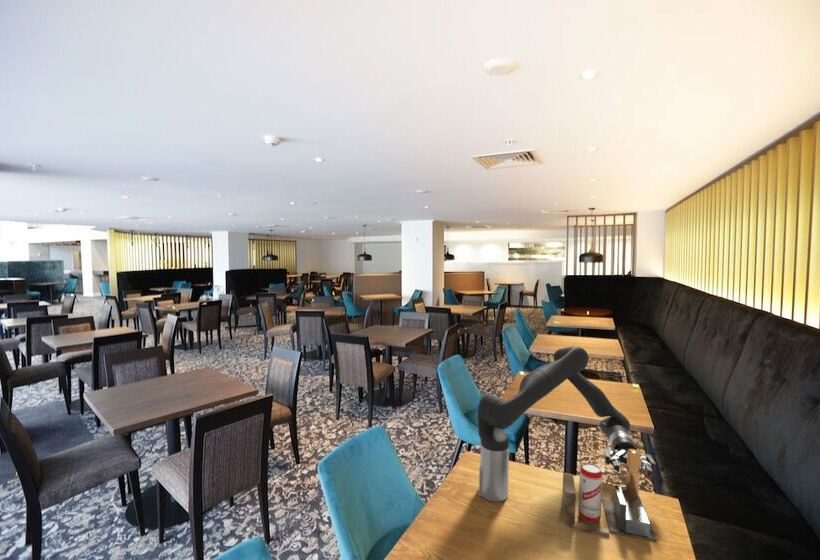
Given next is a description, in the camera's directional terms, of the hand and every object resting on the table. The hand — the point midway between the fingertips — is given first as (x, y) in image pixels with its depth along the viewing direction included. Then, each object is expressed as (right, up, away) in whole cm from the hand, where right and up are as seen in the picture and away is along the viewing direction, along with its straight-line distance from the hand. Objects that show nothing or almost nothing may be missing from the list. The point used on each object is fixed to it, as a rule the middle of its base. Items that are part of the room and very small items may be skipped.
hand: (633, 471), depth 124 cm
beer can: (-15, -13, -2) cm, 20 cm away
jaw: (-3, -12, -3) cm, 13 cm away
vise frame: (-10, -13, -2) cm, 16 cm away
